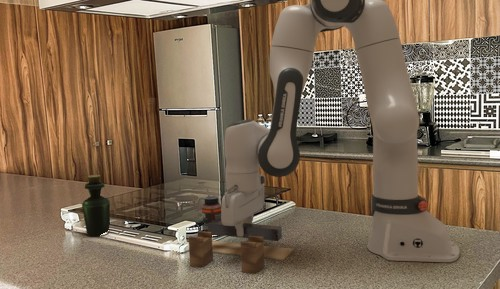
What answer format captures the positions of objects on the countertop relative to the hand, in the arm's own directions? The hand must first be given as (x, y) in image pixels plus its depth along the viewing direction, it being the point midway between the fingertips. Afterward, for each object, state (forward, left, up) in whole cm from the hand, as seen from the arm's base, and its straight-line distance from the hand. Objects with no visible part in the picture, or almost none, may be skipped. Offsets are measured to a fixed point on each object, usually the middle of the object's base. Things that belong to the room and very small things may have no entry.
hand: (244, 233), depth 134 cm
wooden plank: (0, 0, -5) cm, 5 cm away
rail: (0, 0, -1) cm, 1 cm away
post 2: (-7, +12, -5) cm, 14 cm away
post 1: (+7, +12, -5) cm, 14 cm away
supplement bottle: (+15, -10, -5) cm, 19 cm away
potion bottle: (+50, -1, -5) cm, 50 cm away
